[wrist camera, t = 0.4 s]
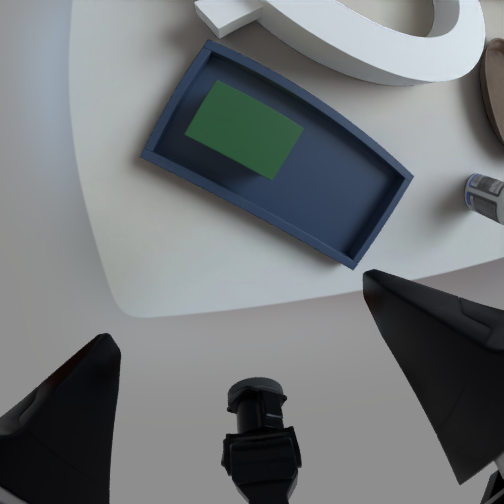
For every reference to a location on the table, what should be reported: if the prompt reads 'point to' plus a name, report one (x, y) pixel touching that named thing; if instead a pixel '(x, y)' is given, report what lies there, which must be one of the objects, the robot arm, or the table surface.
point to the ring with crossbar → (362, 37)
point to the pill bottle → (486, 196)
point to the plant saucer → (494, 84)
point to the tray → (286, 160)
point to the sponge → (244, 130)
